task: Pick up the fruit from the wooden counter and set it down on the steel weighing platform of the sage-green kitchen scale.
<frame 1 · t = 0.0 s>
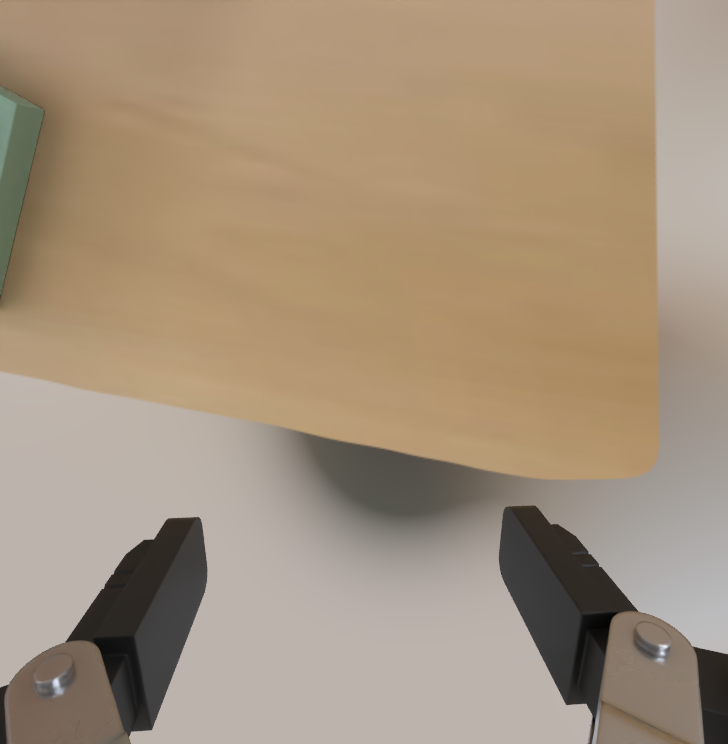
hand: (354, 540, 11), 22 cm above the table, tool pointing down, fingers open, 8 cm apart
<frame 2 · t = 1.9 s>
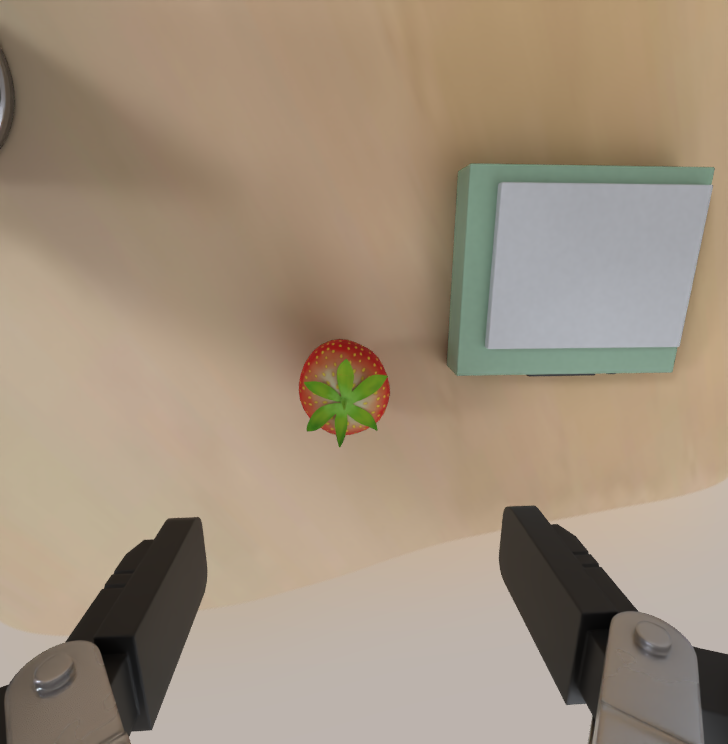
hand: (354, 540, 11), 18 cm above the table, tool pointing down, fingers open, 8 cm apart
scale: (558, 274, 28), on the table
fruit: (342, 366, 29), on the table
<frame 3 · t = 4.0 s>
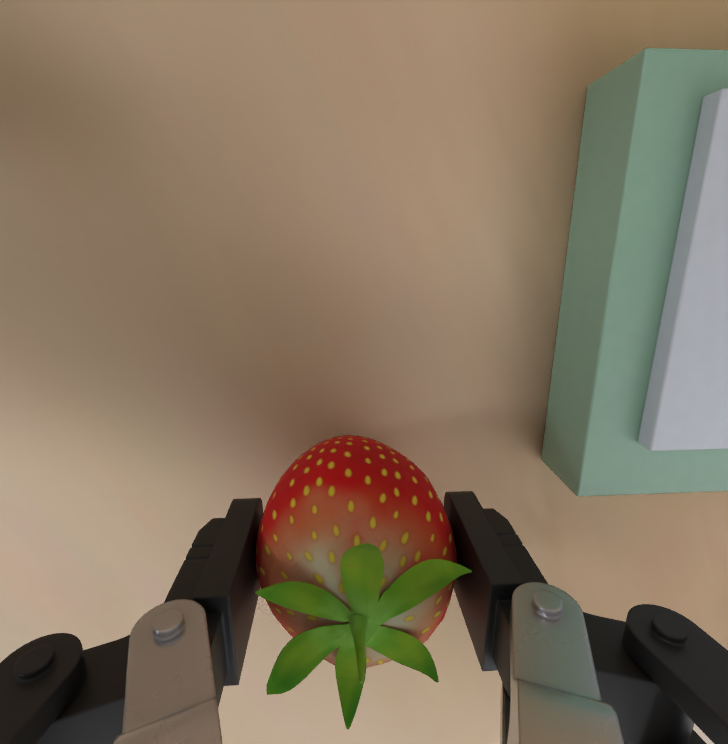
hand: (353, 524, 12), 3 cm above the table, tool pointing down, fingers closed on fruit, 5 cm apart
fruit: (349, 462, 16), on the table, touching gripper
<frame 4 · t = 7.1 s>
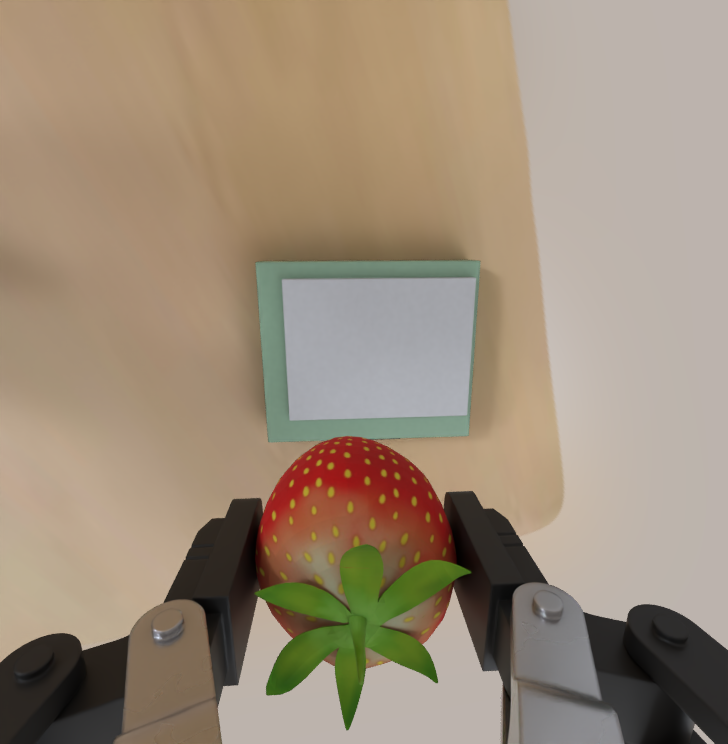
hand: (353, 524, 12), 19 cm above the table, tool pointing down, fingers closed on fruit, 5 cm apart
scale: (367, 347, 31), on the table
fruit: (348, 463, 16), point 16 cm above the table, touching gripper
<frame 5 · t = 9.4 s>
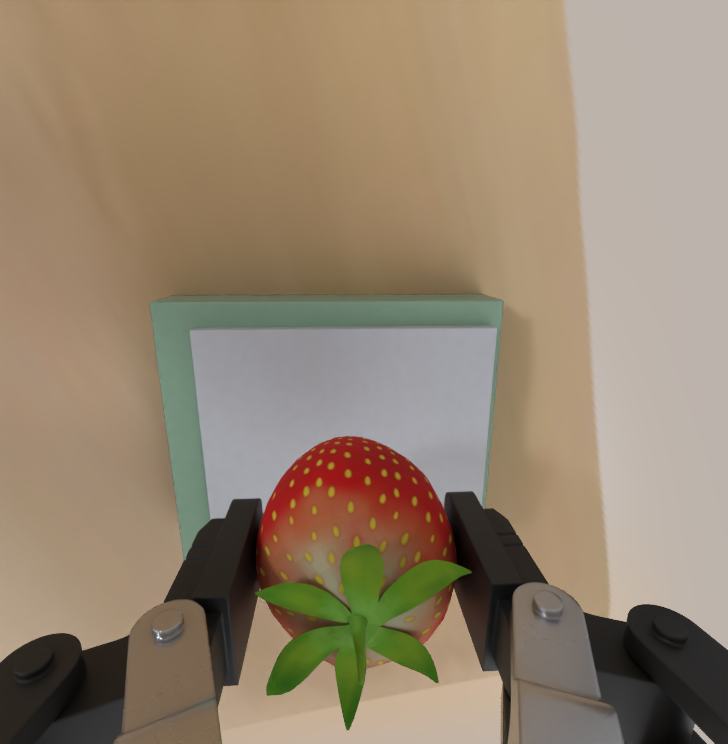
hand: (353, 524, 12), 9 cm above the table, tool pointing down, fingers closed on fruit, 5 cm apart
scale: (333, 418, 21), on the table
fruit: (349, 463, 16), point 6 cm above the table, touching gripper
when the fingers open (7 cm above the table, at t = 10.6 s): fruit stays where it is, resting on scale.
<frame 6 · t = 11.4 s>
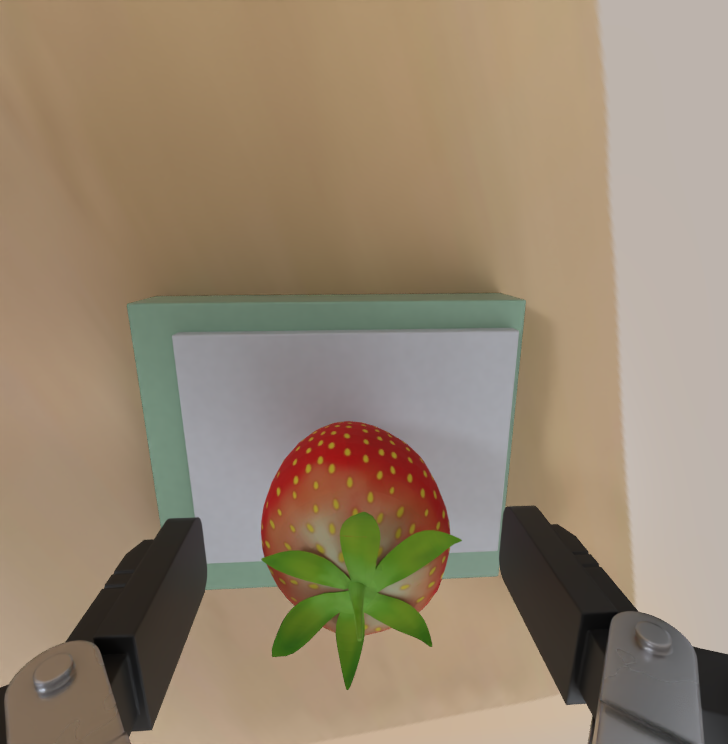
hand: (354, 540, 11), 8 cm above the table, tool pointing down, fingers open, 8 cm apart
scale: (335, 430, 19), on the table
fruit: (349, 449, 16), point 3 cm above the table, touching scale
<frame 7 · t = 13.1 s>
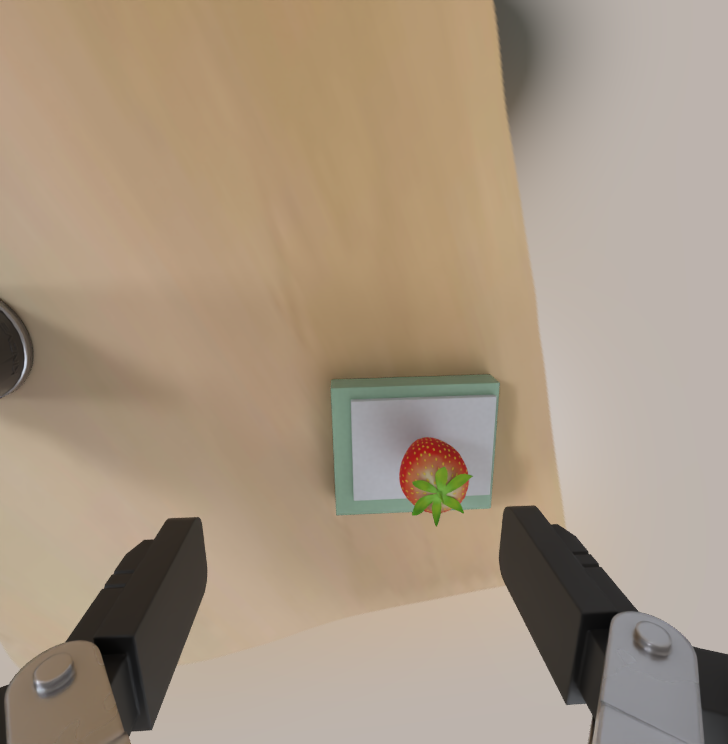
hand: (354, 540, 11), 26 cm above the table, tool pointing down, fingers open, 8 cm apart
scale: (410, 439, 39), on the table
fruit: (422, 448, 36), point 3 cm above the table, touching scale
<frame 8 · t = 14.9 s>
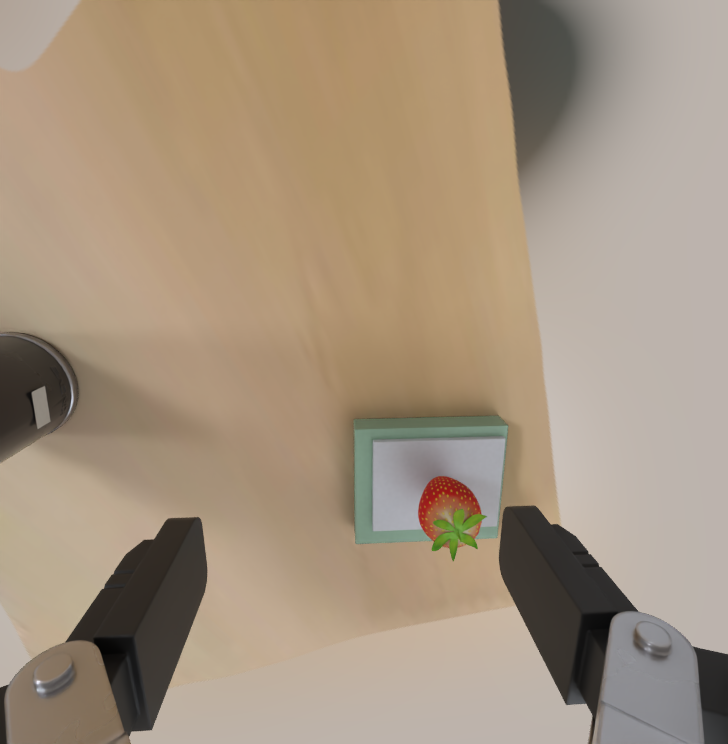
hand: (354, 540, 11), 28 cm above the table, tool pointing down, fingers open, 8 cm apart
scale: (424, 473, 43), on the table
fruit: (436, 484, 40), point 3 cm above the table, touching scale
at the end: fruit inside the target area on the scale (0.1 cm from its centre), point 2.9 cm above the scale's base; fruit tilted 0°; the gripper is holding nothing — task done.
